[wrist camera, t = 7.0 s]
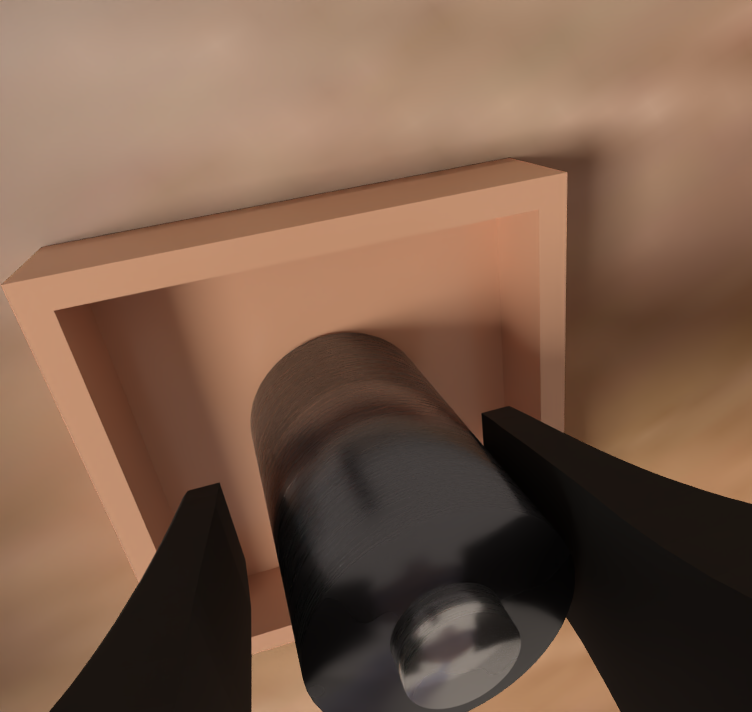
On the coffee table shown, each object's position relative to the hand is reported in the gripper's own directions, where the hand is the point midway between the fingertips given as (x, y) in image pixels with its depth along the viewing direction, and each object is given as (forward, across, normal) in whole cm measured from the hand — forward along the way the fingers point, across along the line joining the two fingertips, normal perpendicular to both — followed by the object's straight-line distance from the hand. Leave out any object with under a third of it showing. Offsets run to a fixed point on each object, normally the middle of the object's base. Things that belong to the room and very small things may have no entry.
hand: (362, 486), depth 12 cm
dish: (+4, 0, 0) cm, 4 cm away
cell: (+3, 0, 0) cm, 3 cm away
